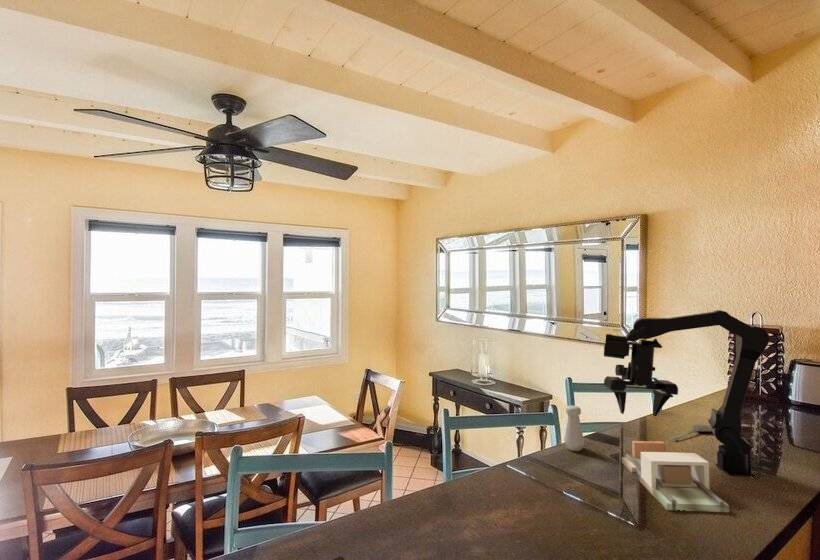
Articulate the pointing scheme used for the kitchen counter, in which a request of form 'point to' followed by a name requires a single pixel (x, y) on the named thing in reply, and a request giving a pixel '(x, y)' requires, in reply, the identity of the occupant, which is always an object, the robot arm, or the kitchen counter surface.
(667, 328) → the robot arm
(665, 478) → the sled
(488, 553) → the kitchen counter surface
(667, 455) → the tunnel
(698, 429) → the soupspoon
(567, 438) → the salt shaker
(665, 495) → the track deck
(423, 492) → the kitchen counter surface
